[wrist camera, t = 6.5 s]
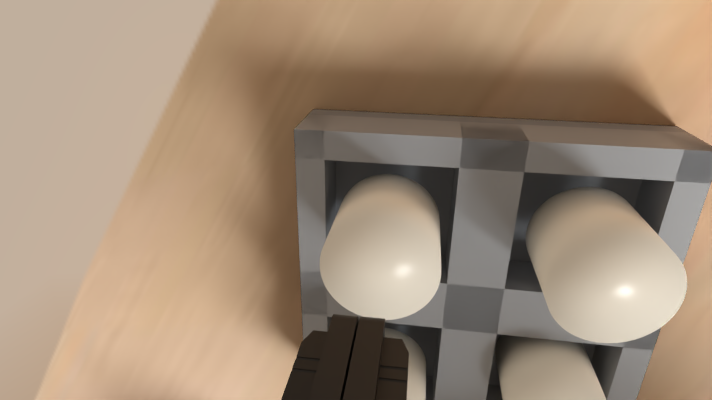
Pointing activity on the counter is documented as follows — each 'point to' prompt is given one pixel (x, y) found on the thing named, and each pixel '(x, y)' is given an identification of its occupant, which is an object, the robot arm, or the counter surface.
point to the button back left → (412, 366)
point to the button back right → (545, 370)
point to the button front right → (603, 266)
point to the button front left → (383, 248)
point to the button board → (493, 223)
